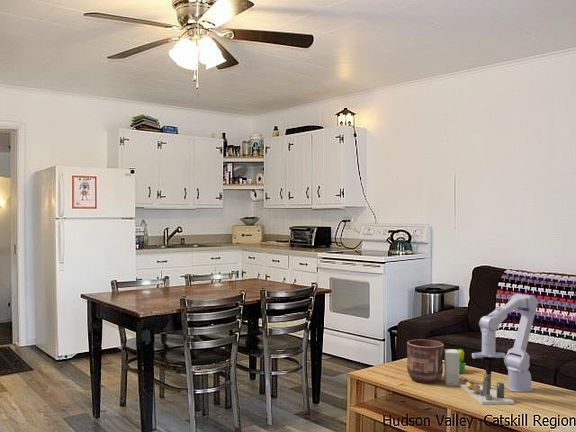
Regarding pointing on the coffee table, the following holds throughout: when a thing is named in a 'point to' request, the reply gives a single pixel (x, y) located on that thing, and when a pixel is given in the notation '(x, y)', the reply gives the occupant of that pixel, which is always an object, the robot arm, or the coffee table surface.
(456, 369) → the skincare box
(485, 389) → the paddle
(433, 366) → the pottery
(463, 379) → the paddle
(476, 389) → the block
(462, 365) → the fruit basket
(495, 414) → the coffee table surface
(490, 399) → the breaker panel
